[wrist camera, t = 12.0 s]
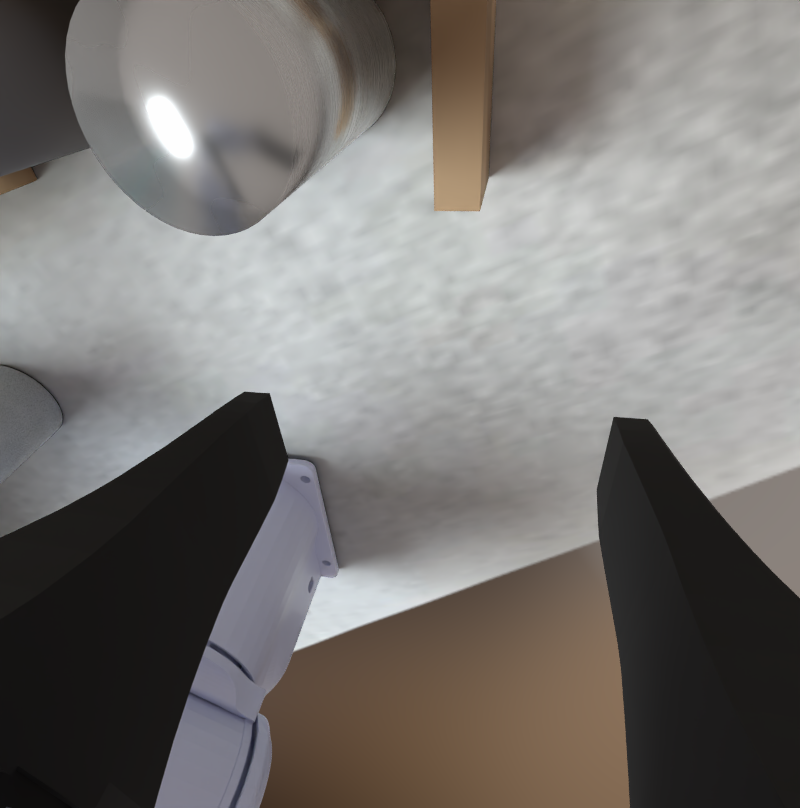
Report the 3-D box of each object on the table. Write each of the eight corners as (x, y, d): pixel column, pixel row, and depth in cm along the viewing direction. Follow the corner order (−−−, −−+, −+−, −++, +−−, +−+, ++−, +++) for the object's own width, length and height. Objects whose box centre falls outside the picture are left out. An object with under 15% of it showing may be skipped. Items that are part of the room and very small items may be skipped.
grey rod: (407, 127, 15) (321, 222, 9) (286, 149, 17) (139, 246, 10) (378, -47, 13) (238, -71, 7) (240, -8, 14) (15, 0, 8)
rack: (488, 177, 16) (478, 213, 13) (10, 180, 19) (-67, 208, 17) (505, -225, 11) (495, -283, 8) (-143, -124, 14) (-281, -145, 12)
